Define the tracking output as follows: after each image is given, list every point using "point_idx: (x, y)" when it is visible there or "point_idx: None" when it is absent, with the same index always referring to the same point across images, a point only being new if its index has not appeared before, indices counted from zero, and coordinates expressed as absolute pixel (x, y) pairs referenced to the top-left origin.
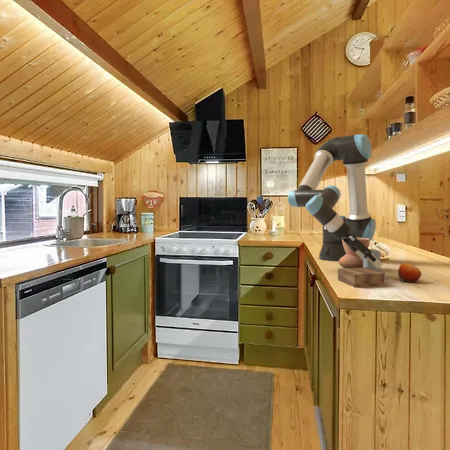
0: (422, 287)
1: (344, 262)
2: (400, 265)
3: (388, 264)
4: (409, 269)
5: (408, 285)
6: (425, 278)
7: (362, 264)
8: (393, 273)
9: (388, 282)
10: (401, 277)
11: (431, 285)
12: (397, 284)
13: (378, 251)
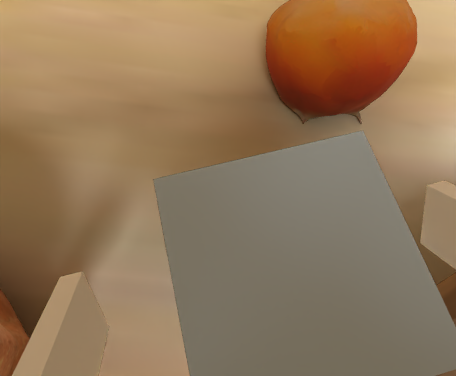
0: (449, 55)
1: None
2: (351, 55)
3: None
4: (415, 28)
5: (434, 104)
6: (207, 7)
7: (16, 356)
8: (85, 128)
9: (403, 193)
10: (364, 107)
11: None
12: (438, 152)
13: (372, 160)
